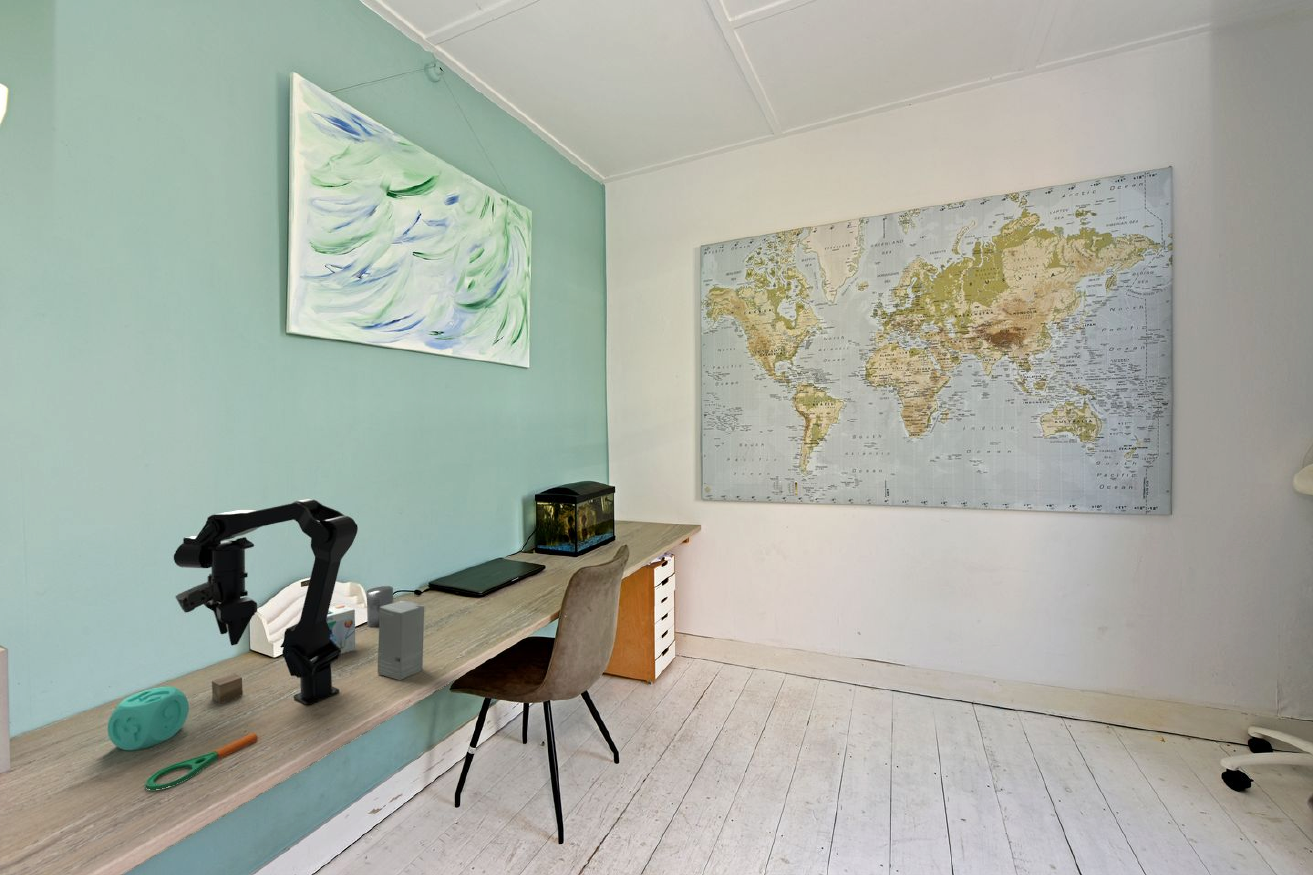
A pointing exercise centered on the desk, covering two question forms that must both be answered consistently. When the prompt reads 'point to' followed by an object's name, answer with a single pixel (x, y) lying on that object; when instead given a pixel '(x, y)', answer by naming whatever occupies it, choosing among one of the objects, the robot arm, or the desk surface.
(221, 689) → the walnut cube
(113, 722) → the decorative dice
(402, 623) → the skincare box
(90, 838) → the desk surface
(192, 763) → the magnifying glass
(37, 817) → the desk surface
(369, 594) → the grey rounded block
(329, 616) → the light bulb box
